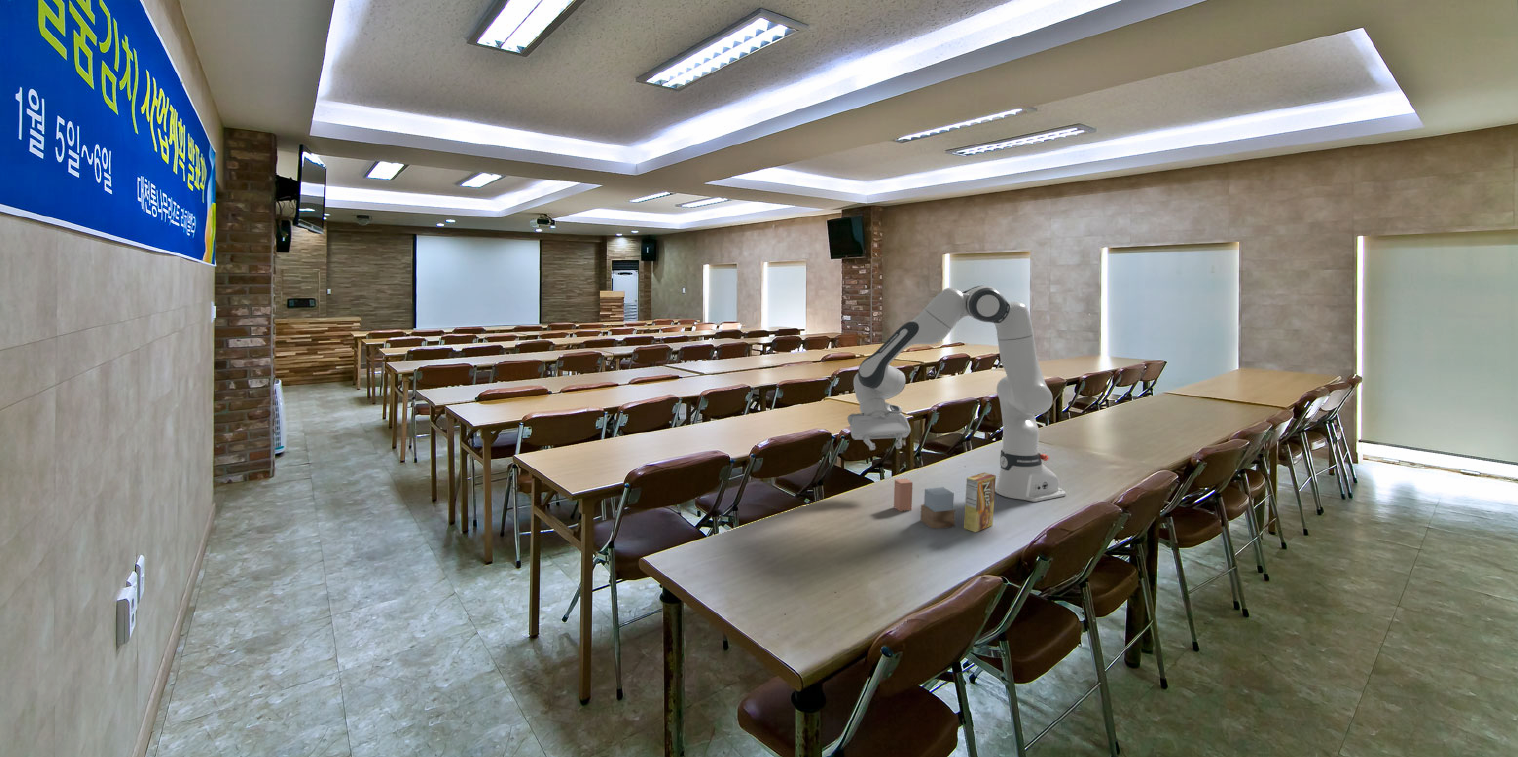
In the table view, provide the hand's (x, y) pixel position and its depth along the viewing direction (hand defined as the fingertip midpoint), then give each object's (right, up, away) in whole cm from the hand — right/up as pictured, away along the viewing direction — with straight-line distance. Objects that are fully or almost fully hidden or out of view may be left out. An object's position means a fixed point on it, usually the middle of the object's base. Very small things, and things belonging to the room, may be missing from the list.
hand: (886, 448), depth 221 cm
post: (+3, -18, -9) cm, 20 cm away
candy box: (+22, -20, -25) cm, 39 cm away
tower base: (+11, -20, -22) cm, 31 cm away
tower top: (+11, -15, -23) cm, 29 cm away
